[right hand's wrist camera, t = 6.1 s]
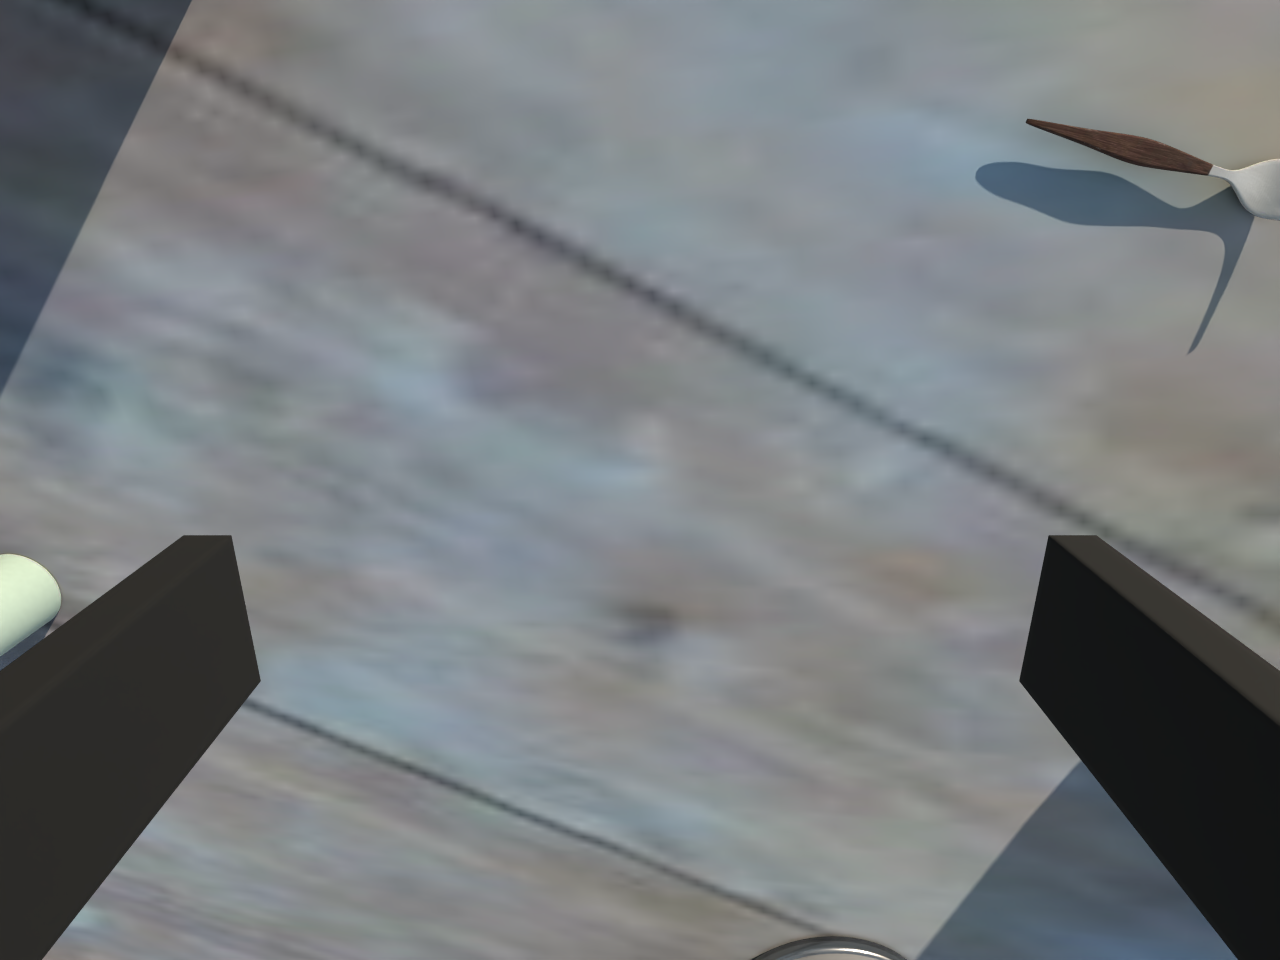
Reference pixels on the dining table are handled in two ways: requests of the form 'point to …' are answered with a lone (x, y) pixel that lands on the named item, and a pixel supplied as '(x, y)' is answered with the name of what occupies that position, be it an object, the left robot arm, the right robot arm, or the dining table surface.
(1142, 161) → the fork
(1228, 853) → the right robot arm
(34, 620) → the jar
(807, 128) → the dining table surface
